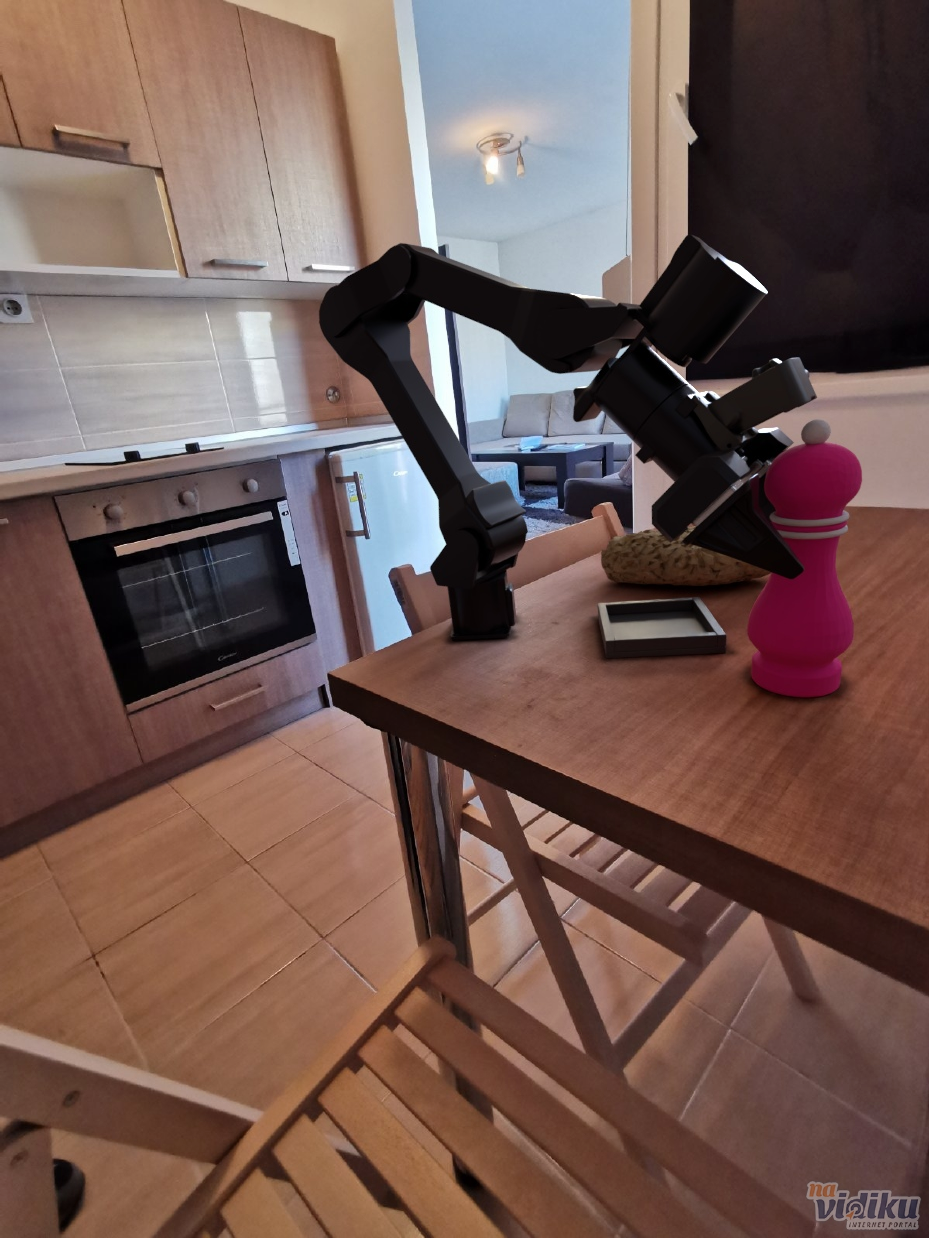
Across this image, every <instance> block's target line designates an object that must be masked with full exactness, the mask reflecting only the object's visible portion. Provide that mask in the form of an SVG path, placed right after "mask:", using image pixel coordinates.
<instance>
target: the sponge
mask: <svg viewBox="0 0 929 1238" xmlns="http://www.w3.org/2000/svg"><path fill="white" fill-rule="evenodd" d="M694 529H695V527H694V526H688V529H687V530H686V531H685V532H684V533H683V534H682V535H680V536H679V537H678V538H676V539H675V540H674V541H672V542H671V543H670V542H669V541H668V540H667V539H666V538H665V537H664V536H663V535H662V534H661V533H660V532H659V531H658V530H655V529H645V530H639V531H638V532H632V533H630V534H626V533H625V534H624V535H622V536H613V538H612V539H610V540H609V541H608V544H607V545H606V549H604V548H603V549H602V550H601V552H600V556H601V557H600V563H601V564H600V565H601V567H602V569H603V571H604V573H605V575H606V577H607V579H608V580H610V581H611V582H615V583H622V584H623V583H625V584H633V585H634V584H635V585H636V584H638V585H658V586H660V585H671V586H692V587H705V586H719V585H720V586H721V585H728V584H733V583H740V582H745V581H750V580H753V579H759V578H763V577H766V576H769V575H771V572H769V571H766V570H764V569H761V568H758V567H756V566H753V565H750V564H748V563H745V562H742V561H739V560H737V559H734V558H731V557H728V556H725V555H722V554H719V553H716V552H713V551H710V550H707V549H704V548H701V547H698V546H695V545H692V544H689V545H685V544H683V543H682V542H681V541H682V540H683V539H684V538H685V537H686V536H688V535H689V534H690V533H691V532H692V531H693V530H694Z"/></svg>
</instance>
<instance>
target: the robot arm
mask: <svg viewBox="0 0 929 1238" xmlns="http://www.w3.org/2000/svg"><path fill="white" fill-rule="evenodd" d="M766 295H768V290H767V289H766V288H765V286H763V285H762V284H761V283H760V282H759V281H758V280H757V279H756V278H755V277H754V276H753V275H752V274H751V273H750V272H749V271H748V270H746V269H745V268H744V267H743V266H742V265H741V264H739V263H737V262H735V261H732V260H730V259H728V258H726V257H725V256H723V254H721V253H719V252H718V251H717V250H715V249H714V248H712V247H711V246H709V245H708V244H707V243H706V242H704V240H702V239H701V238H700V237H698V236H696V235H693V234H687V235H685V237H684V238H683V240H682V241H681V242H680V244H679V245H678V247H677V248H676V250H675V251H674V252H673V255H672V257H671V260H670V262H669V263H668V265H667V267H666V268H665V269H664V271H663V272H662V273H661V275H660V276H659V278H658V279H657V280H656V281H655V283H654V284H653V286H652V287H651V288H650V290H649V291H648V292H647V294H646V295H645V297H644V298H643V300H642V301H641V302H640V304H637V303H636V304H635V303H629V302H628V303H627V302H618V303H617V304H616V303H614V302H613V301H611V300H610V299H608V298H605V297H600V296H592V295H583V294H577V293H569V292H560V291H552V290H545V289H544V290H543V289H538V288H537V289H536V288H531V287H527V286H525V285H522V284H519V283H517V282H514V281H512V280H509V279H507V278H504V277H501V276H498V275H495V274H493V273H490V272H488V271H485V270H482V269H479V268H476V267H474V266H471V265H469V264H466V263H464V262H460V261H458V260H455V259H452V258H450V257H447V256H445V255H442V254H439V253H438V252H437V251H436V250H435V249H433V248H432V247H427V246H421V245H415V244H411V243H406V242H405V243H404V242H399V243H398V244H396V245H393V246H392V247H390V248H389V249H387V250H386V251H385V252H384V253H383V254H382V255H381V256H380V257H379V258H378V259H377V260H376V261H373V262H371V263H369V264H368V265H366V266H364V267H362V268H360V269H358V270H357V271H354V272H353V273H351V274H349V275H346V277H344V279H343V280H341V281H340V282H339V283H338V284H335V285H333V286H331V287H329V289H328V290H327V291H326V292H325V293H324V297H323V299H322V301H321V303H320V305H319V310H318V323H319V328H320V331H321V333H322V335H323V337H324V338H325V340H326V342H327V343H328V344H329V346H330V347H331V348H332V349H333V351H334V352H335V353H336V354H337V356H338V357H339V358H340V360H341V361H342V363H345V364H346V365H347V366H349V367H350V368H351V369H353V370H354V371H356V372H357V373H358V374H360V375H361V376H362V377H364V378H366V379H367V380H368V382H370V384H371V386H372V387H373V389H374V390H375V392H376V394H377V396H378V397H379V399H380V401H381V402H382V404H383V406H384V407H385V409H386V411H387V413H388V414H389V417H390V418H391V420H392V422H393V423H394V425H395V426H396V428H397V430H398V432H399V434H400V436H401V437H402V440H403V441H404V442H405V444H406V446H407V448H408V449H409V451H410V452H411V454H412V456H413V458H414V459H415V461H416V464H417V465H418V467H419V468H420V470H421V472H422V473H423V475H424V477H425V478H426V481H427V482H428V484H429V485H430V487H431V489H432V490H433V492H434V494H435V496H436V498H437V502H438V503H437V504H438V505H437V507H438V527H439V531H440V533H441V536H442V538H443V540H444V542H445V543H444V544H445V545H444V547H443V548H442V549H441V551H440V552H439V553H438V555H437V556H436V557H435V559H434V560H433V562H432V563H431V564H430V566H429V570H430V572H431V575H432V577H433V579H434V583H435V584H436V586H439V587H447V595H448V602H449V610H450V618H451V625H452V629H451V631H450V634H449V637H450V640H451V641H464V640H482V639H483V640H485V639H502V638H509V637H510V636H511V632H512V627H514V626H515V625H516V621H517V609H516V597H515V589H514V587H515V586H514V584H513V582H509V581H508V570H510V569H513V568H515V567H516V565H517V562H518V561H517V560H518V557H519V553H520V552H521V551H522V550H523V548H524V546H525V544H526V540H527V534H528V532H529V529H528V525H527V522H526V519H525V518H524V515H525V514H526V513H527V510H526V509H524V508H523V507H522V506H521V505H520V503H519V501H517V500H516V497H515V496H514V493H513V489H512V488H511V485H509V483H508V482H507V481H506V480H505V479H503V480H498V481H495V482H493V483H491V482H489V481H488V480H487V479H486V478H484V477H483V476H481V475H480V473H479V472H478V470H477V469H476V467H475V465H474V463H473V462H472V460H471V459H470V457H469V455H468V453H467V451H466V450H465V448H464V446H463V445H462V443H461V441H460V439H459V438H458V436H457V434H456V432H455V431H454V429H453V427H452V426H451V423H450V422H449V421H448V419H447V417H446V415H445V414H444V411H443V409H442V408H441V407H440V405H439V403H438V401H437V400H436V398H435V396H434V394H433V393H432V391H431V389H430V388H429V386H428V384H427V382H426V381H425V379H424V376H422V374H421V372H420V370H419V369H418V367H417V365H416V363H415V362H414V360H413V358H412V346H411V345H412V343H411V342H412V341H411V329H410V327H409V325H410V323H411V322H413V321H414V320H416V318H417V317H419V315H420V313H421V311H422V308H423V307H424V305H425V303H426V302H428V303H430V304H433V305H434V306H437V307H438V308H442V309H444V310H446V311H449V312H452V313H454V314H456V315H459V316H461V317H464V318H465V319H468V320H471V321H473V322H476V323H478V324H480V325H483V326H485V327H488V328H490V329H491V330H495V331H497V332H499V333H501V334H502V335H504V336H505V337H507V338H508V339H509V340H510V342H512V343H513V345H514V346H515V347H516V348H517V350H518V351H519V352H520V353H522V354H523V355H525V356H526V357H527V358H529V359H531V360H532V361H533V362H534V363H536V364H537V365H539V366H540V367H542V368H543V369H544V370H546V371H547V372H550V373H552V374H558V375H561V374H563V375H564V374H574V373H575V374H576V373H588V372H589V373H591V372H597V373H596V375H595V376H594V377H593V379H592V380H591V382H590V383H589V384H588V385H587V386H580V387H575V388H573V390H572V391H573V392H572V393H573V397H574V402H573V403H574V404H573V410H572V419H573V421H574V422H575V423H581V422H585V421H590V420H595V419H596V418H598V417H599V415H600V414H601V413H602V412H603V413H604V414H605V415H606V416H607V417H608V418H609V419H610V420H611V421H612V422H613V423H614V424H615V426H617V427H618V428H619V429H620V430H621V431H622V432H623V433H624V434H625V435H626V437H628V438H630V440H631V441H632V442H634V443H635V445H636V446H638V448H639V450H638V451H637V452H636V453H635V457H636V458H637V459H638V460H639V461H640V462H641V463H642V464H644V465H645V464H647V463H650V462H652V461H653V462H654V463H655V465H657V466H658V467H659V468H660V470H662V471H663V472H664V474H665V475H667V476H668V477H669V478H670V479H671V480H672V481H673V483H672V484H671V485H670V486H669V487H668V488H667V489H666V490H665V491H664V492H663V493H662V494H661V495H660V497H658V498H657V499H656V501H654V503H653V504H652V505H651V525H652V526H653V527H654V529H656V531H659V532H660V533H661V534H662V535H663V536H664V537H665V538H666V539H667V540H668V541H669V542H670V543H671V542H672V541H674V540H675V539H676V538H678V537H679V536H680V535H682V534H683V533H684V532H685V531H686V530H687V529H688V527H690V525H692V527H695V529H694V530H693V531H692V532H691V533H690V534H689V535H688V536H686V537H685V538H684V539H683V540H682V541H681V542H682V543H683V544H685V545H689V544H692V545H695V546H698V547H701V548H704V549H707V550H710V551H713V552H716V553H719V554H722V555H725V556H728V557H731V558H734V559H737V560H739V561H742V562H745V563H748V564H750V565H753V566H756V567H758V568H761V569H764V570H766V571H769V572H772V573H774V574H777V575H780V576H782V577H785V578H788V579H795V578H796V577H797V576H799V575H800V574H801V573H803V572H804V570H805V568H804V566H803V564H802V563H801V562H800V560H799V559H798V557H797V556H796V555H795V553H794V552H793V550H792V549H791V548H790V546H789V545H788V544H787V542H786V541H785V540H784V539H783V537H782V536H781V535H780V533H779V532H778V531H777V529H776V528H775V527H774V525H773V524H772V523H771V519H770V515H771V514H772V513H773V512H775V511H776V509H775V507H774V506H773V504H772V503H771V502H770V501H769V500H768V498H767V496H766V494H765V491H764V482H765V477H766V473H767V471H768V468H769V466H770V465H771V463H772V462H773V460H774V459H775V458H776V457H777V456H778V455H779V454H781V453H782V452H784V451H786V450H787V449H789V448H791V446H792V445H794V444H795V442H794V441H793V440H792V439H791V438H790V437H789V436H788V435H787V434H786V433H784V432H783V431H782V430H781V429H780V428H779V427H767V428H759V429H757V428H756V427H757V426H759V425H761V424H763V423H765V422H768V421H769V420H771V419H773V418H776V417H777V416H779V415H780V414H782V413H784V414H785V413H789V412H791V411H792V410H795V409H797V408H800V407H803V406H805V405H806V404H809V403H810V402H812V401H814V400H816V399H817V398H818V396H817V393H816V391H815V389H814V387H813V385H812V382H811V380H810V372H809V370H807V369H806V368H805V367H804V364H803V362H802V360H801V357H791V358H788V359H786V360H783V361H782V360H780V359H779V358H772V359H769V361H768V363H766V364H764V365H762V366H760V367H756V368H754V369H753V370H752V373H751V374H752V375H751V379H749V380H747V381H746V382H744V383H742V384H741V385H739V386H737V387H735V388H733V389H732V390H730V391H728V392H726V393H725V394H723V395H721V396H719V395H718V394H717V393H716V392H714V391H713V390H710V391H703V392H699V391H697V390H696V389H695V387H694V386H693V385H691V384H690V383H689V382H688V381H687V380H686V379H685V378H683V376H682V375H680V374H679V373H678V372H677V371H676V370H675V369H674V368H673V367H672V366H671V365H670V364H669V363H668V362H666V360H665V359H663V358H662V357H661V356H660V355H659V354H658V353H657V352H656V351H655V350H654V349H653V348H652V346H653V347H654V348H655V349H656V350H657V351H658V352H659V353H660V354H661V355H663V357H665V358H666V359H667V360H669V361H670V362H672V363H673V364H675V365H677V366H679V367H682V368H687V367H688V365H690V363H691V362H692V360H694V361H696V362H698V363H700V364H707V363H709V362H710V360H711V359H712V358H713V356H715V354H716V353H717V352H718V351H719V350H720V348H721V347H722V346H723V345H724V344H725V343H726V341H728V339H729V338H730V337H731V336H732V334H733V333H735V331H736V330H737V329H738V327H739V326H740V325H741V324H742V323H743V322H744V321H745V320H746V318H747V317H748V316H749V315H750V314H751V313H752V311H754V309H755V308H756V307H757V306H758V304H759V303H760V302H761V301H762V300H763V298H764V297H765V296H766ZM625 348H626V349H625ZM623 349H625V350H624V351H623V352H622V354H620V356H619V357H617V356H618V354H619V352H620V350H623Z"/></svg>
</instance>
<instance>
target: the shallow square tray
mask: <svg viewBox="0 0 929 1238" xmlns="http://www.w3.org/2000/svg"><path fill="white" fill-rule="evenodd" d="M597 619H598V624H599V630H600V634H601V640H602V643H603V649H604V654H605V658H606V659H619V658H620V659H621V658H641V657H662V656H663V657H665V656H684V655H687V656H688V655H706V654H709V655H710V654H726V652H727V636H728V635H727V634H726V632H725V631H724V630H723V628H722V626H721V625H720V624H719V622H718V621H717V620H716V618H715V617H714V616H713V614H712V613H711V611H710V610H709V609H708V607H707V605H706V604H705V603H704V602H703V600H702V598H701V597H699V596H692V597H675V598H658V599H644V600H627V601H611V602H598V603H597Z"/></svg>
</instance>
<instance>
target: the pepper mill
mask: <svg viewBox="0 0 929 1238" xmlns="http://www.w3.org/2000/svg"><path fill="white" fill-rule="evenodd" d="M831 433H832V430H831V426H830V424H829V423H828V422H827V421H826V420H824V419H821V418H820V419H812V420H810V421H808V422H807V423H806V424H805V425H804V426H803V427H802V429H801V432H800V438H801V440H802V442H803V443H801V444H798V445H795V446H792V447H789V448H788V449H787V450H786V451H784V452H782V453H781V454H779V455H778V456H777V457H776V458H775V459H774V460H773V462H772V463H771V465H770V466H769V468H768V471H767V473H766V477H765V482H764V491H765V494H766V496H767V498H768V500H769V501H770V502H771V503H772V504H773V506H774V507H775V509H776V511H775V512H773V513H772V514H771V515H770V519H771V523H772V524H773V525H774V527H775V528H776V529H777V531H778V532H779V533H780V535H781V536H782V537H783V539H784V540H785V541H786V542H787V544H788V545H789V546H790V548H791V549H792V550H793V552H794V553H795V555H796V556H797V557H798V559H799V560H800V562H801V563H802V564H803V566H804V568H805V570H804V572H803V573H801V574H800V575H799V576H797V577H796V578H795V579H788V578H785V577H782V576H780V575H777V574H774V573H772V572H771V573H770V574H769V575H770V576H769V578H768V579H767V581H766V583H765V585H764V586H763V588H762V590H761V591H760V593H759V594H758V597H757V598H756V600H755V602H754V603H753V605H752V607H751V610H750V612H749V616H748V621H747V628H746V633H747V637H748V639H749V641H750V643H751V644H752V646H754V647H755V649H757V651H755V652H754V653H753V655H752V657H751V667H750V668H751V670H750V676H751V679H752V680H753V681H754V682H755V684H756V685H758V686H759V687H761V688H763V689H764V690H766V691H769V692H771V693H774V694H778V695H782V696H787V697H794V698H817V697H823V696H826V695H829V694H832V693H834V692H835V691H837V690H838V689H839V688H840V685H841V679H842V670H843V666H842V665H843V664H842V662H841V660H840V659H839V658H838V657H839V656H841V655H843V653H845V652H846V651H847V650H848V648H849V647H851V645H852V644H853V640H854V632H855V631H854V629H855V628H854V619H853V615H852V610H851V608H850V605H849V603H848V601H847V597H846V596H845V594H844V592H843V589H842V587H841V584H840V581H839V577H838V572H837V566H836V565H837V563H836V562H837V550H838V545H839V541H840V537H841V536H843V535H844V534H846V533H847V532H848V531H849V527H848V525H847V524H848V520H849V519H850V514H849V512H848V511H846V510H845V508H846V507H847V506H848V504H849V503H850V502H851V501H852V500H854V499H855V497H856V496H857V495H858V493H859V492H860V489H861V488H862V487H861V486H862V483H863V469H862V465H861V463H860V462H861V461H860V460H859V458H858V457H857V455H856V454H855V453H854V452H853V451H852V450H850V449H849V448H847V447H845V446H843V445H840V444H837V443H833V442H826V441H828V439H829V438H830V436H831Z"/></svg>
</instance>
